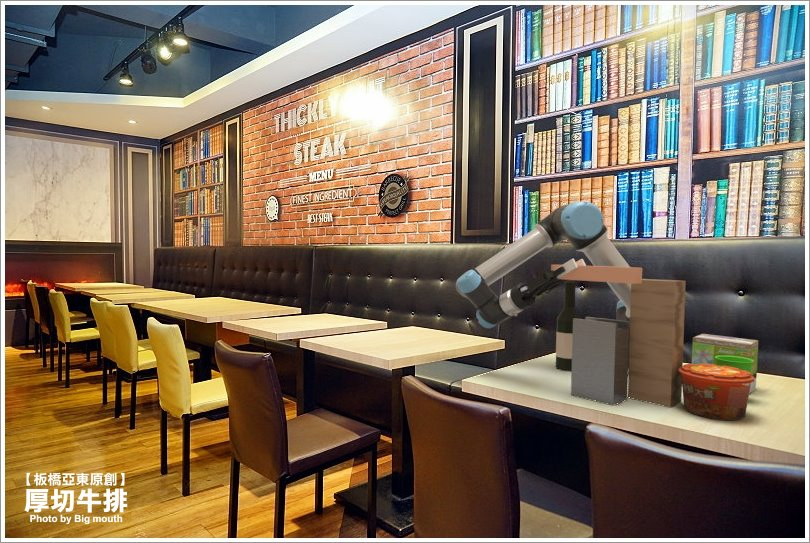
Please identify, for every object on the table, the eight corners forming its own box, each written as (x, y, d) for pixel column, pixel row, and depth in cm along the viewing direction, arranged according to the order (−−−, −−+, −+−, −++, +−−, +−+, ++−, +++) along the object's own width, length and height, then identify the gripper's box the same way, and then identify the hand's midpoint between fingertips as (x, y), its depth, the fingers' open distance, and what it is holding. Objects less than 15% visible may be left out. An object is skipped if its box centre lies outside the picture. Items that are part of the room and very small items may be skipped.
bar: (558, 278, 149) (559, 264, 148) (641, 283, 130) (642, 267, 130) (550, 278, 146) (551, 264, 146) (634, 283, 128) (635, 267, 128)
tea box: (689, 385, 153) (691, 336, 152) (699, 379, 160) (701, 332, 160) (749, 395, 142) (751, 343, 142) (757, 389, 149) (759, 339, 149)
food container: (694, 399, 137) (696, 360, 137) (763, 415, 125) (765, 371, 124) (664, 409, 128) (666, 367, 128) (736, 428, 115) (738, 380, 115)
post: (639, 393, 143) (643, 278, 142) (681, 402, 135) (685, 280, 133) (627, 397, 138) (631, 279, 137) (670, 407, 130) (674, 281, 129)
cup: (759, 404, 133) (760, 363, 133) (721, 402, 135) (722, 361, 135) (743, 395, 142) (745, 356, 142) (708, 393, 144) (709, 354, 144)
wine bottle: (550, 366, 176) (552, 279, 175) (573, 365, 178) (575, 279, 177) (562, 371, 168) (564, 280, 167) (585, 371, 170) (588, 280, 168)
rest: (585, 390, 145) (587, 316, 144) (627, 400, 136) (629, 321, 135) (570, 395, 140) (573, 318, 139) (613, 405, 131) (615, 323, 130)
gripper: (538, 308, 161) (601, 274, 146) (505, 312, 150) (568, 275, 134) (529, 287, 164) (589, 251, 148) (495, 289, 153) (556, 250, 137)
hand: (579, 263), depth 141 cm, fingers closed on bar, 4 cm apart
